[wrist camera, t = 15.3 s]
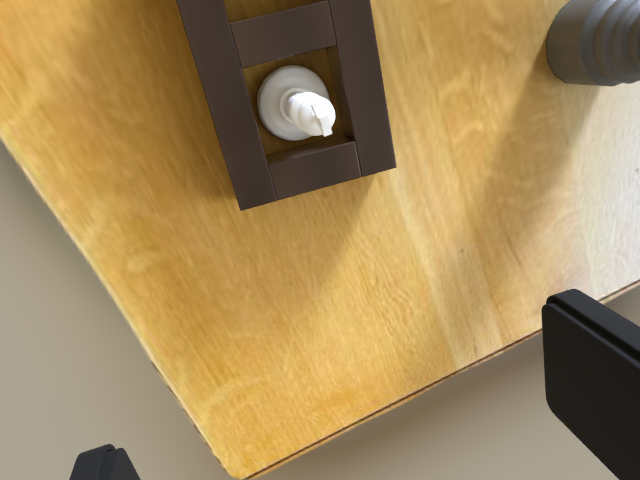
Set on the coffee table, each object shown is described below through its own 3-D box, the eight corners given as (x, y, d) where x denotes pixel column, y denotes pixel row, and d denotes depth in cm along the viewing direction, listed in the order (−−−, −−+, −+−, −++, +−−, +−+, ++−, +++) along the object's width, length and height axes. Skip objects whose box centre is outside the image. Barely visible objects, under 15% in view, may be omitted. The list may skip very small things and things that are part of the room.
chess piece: (275, 152, 33) (299, 187, 24) (244, 83, 31) (256, 93, 22) (339, 122, 33) (387, 145, 24) (312, 52, 31) (353, 48, 22)
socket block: (238, 198, 33) (240, 211, 31) (139, -127, 26) (130, -149, 23) (382, 159, 35) (397, 167, 32) (327, -163, 27) (340, -188, 24)
